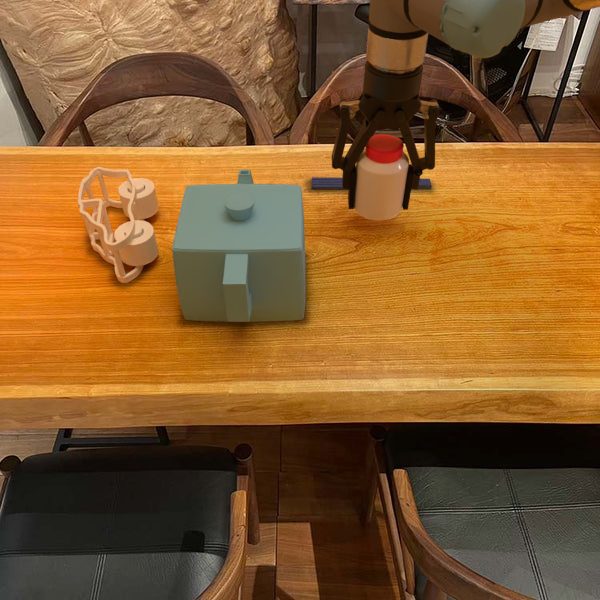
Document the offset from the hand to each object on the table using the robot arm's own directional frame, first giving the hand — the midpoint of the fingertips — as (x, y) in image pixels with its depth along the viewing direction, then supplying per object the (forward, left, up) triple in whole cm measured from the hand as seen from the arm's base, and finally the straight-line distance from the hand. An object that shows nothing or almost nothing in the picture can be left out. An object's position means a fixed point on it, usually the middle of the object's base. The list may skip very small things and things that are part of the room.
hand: (377, 204), depth 92 cm
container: (+11, +21, -4) cm, 24 cm away
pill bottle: (0, 0, 0) cm, 0 cm away
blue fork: (+5, -10, -4) cm, 12 cm away
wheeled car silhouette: (+33, +22, -4) cm, 40 cm away
